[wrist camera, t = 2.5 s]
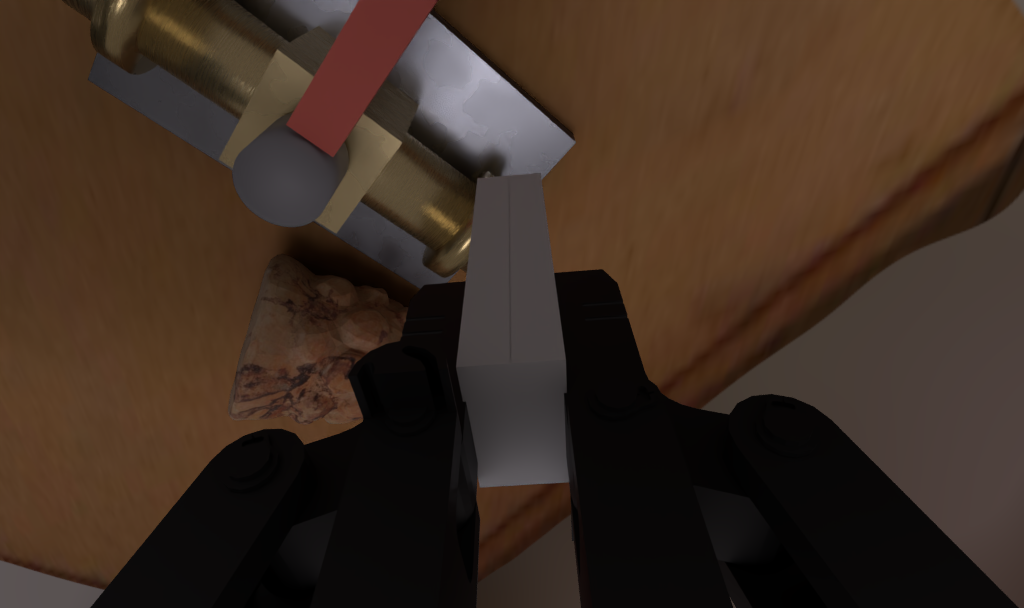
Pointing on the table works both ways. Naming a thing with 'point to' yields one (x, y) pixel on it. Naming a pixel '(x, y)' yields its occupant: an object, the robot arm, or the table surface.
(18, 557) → the table surface
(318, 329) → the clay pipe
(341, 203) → the valve
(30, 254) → the table surface
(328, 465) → the robot arm
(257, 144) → the lever
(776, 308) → the table surface
